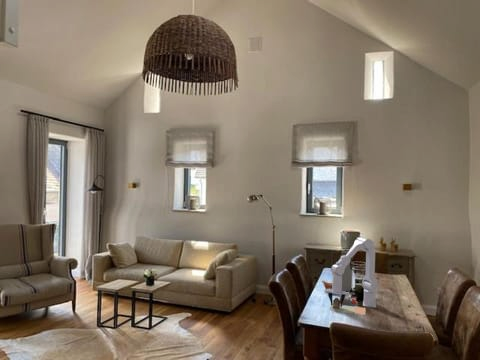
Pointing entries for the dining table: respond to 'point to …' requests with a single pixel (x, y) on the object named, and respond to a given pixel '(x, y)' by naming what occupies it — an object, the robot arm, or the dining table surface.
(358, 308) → the game board
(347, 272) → the water bottle
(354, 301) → the grey open box
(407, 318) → the dining table surface
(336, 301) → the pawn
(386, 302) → the dining table surface
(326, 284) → the bull figurine
